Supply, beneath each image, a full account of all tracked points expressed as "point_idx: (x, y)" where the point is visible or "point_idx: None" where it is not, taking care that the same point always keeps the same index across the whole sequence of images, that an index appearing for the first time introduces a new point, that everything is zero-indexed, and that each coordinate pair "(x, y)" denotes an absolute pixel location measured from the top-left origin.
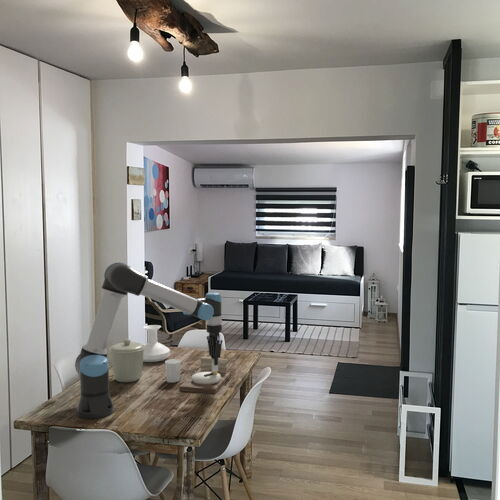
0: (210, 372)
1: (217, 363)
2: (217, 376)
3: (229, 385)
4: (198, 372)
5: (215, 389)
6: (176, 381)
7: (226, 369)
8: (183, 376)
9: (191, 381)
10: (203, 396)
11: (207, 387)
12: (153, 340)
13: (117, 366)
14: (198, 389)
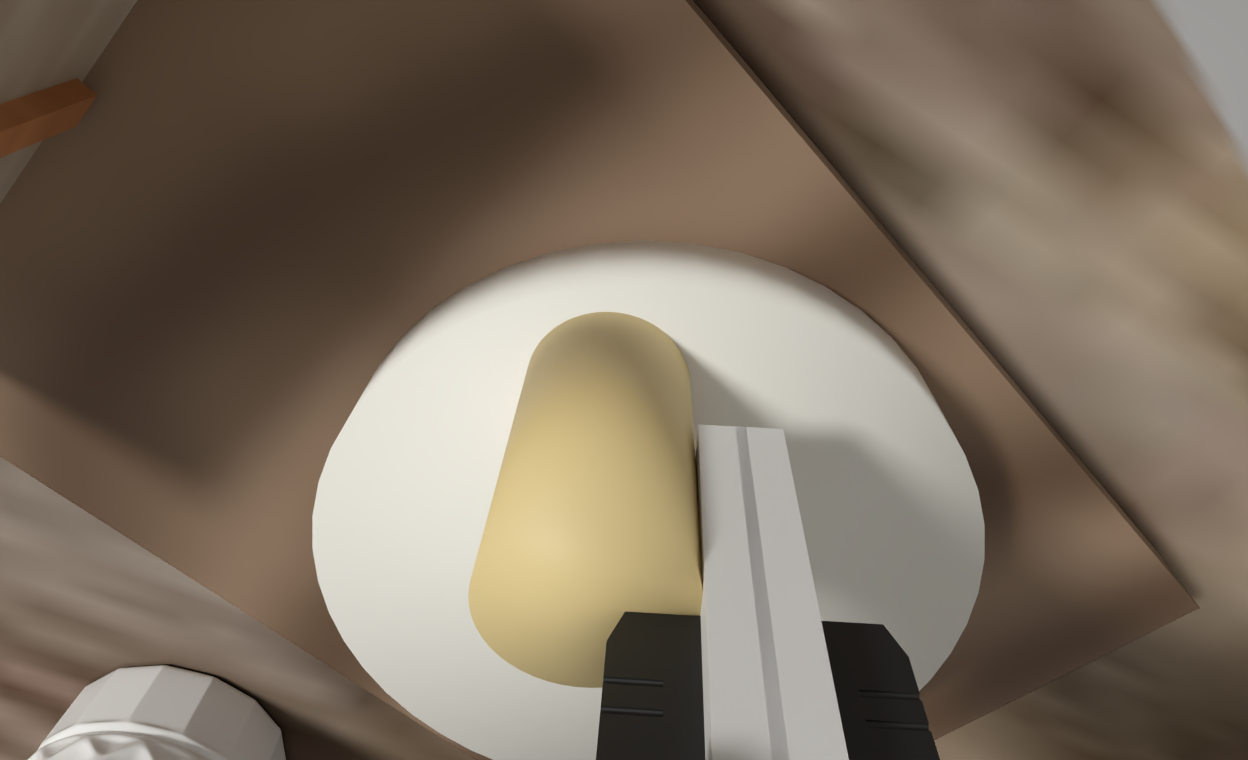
0: (433, 406)
1: (909, 690)
2: (842, 420)
3: (1020, 113)
4: (21, 409)
5: (1184, 589)
6: (278, 739)
7: None
8: (9, 564)
9: None
10: (1107, 713)
11: (1007, 656)
12: None
13: None
14: None
